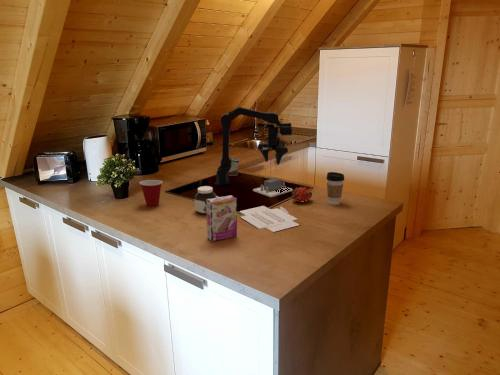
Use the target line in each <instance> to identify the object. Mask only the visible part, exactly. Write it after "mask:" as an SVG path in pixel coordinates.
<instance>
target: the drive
mask: <svg viewBox="0 0 500 375" xmlns="http://www.w3.org/2000/svg"><path fill="white" fill-rule="evenodd" d="M282 180H283V179H282V178H279V177H274V178H270V179H266V180H263V186H264V190H266V187H268V191H269V192H271V191H274V190H277V189H280V188H282V186H283V182H282Z"/></svg>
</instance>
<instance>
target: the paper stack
mask: <svg viewBox="0 0 500 375" xmlns="http://www.w3.org/2000/svg"><path fill="white" fill-rule="evenodd" d="M239 213H240V214H242V216H240V218H241V219H243V220H245V221H246V222H248V223H249V224H250V225H252V226H254V227H256V229H258V230H263V229H267V230H269V231H270V232H272V233H274V232H278V231H282V230H286V229H290V228H292V227H296V226H297V227H298V226H300V224H299V223H297V222H295V221H298V218H297V217H295V216H293V215H292V214H289V211H288V210H287V209H286V208H284V207H282V206H280V207H279V208H273V209H271V208H270V207H267V206H265V205H261V206H257V207H253V208H248V209H244V210H240V211H239Z"/></svg>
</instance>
